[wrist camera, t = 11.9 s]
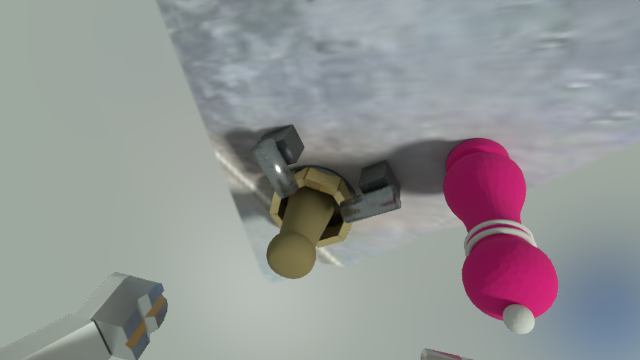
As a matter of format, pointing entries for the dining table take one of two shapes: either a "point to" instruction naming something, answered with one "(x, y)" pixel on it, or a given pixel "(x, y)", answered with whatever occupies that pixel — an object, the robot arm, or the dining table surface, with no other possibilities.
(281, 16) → the dining table surface
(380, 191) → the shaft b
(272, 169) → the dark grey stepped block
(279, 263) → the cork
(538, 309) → the pepper mill
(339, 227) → the coupling collar
